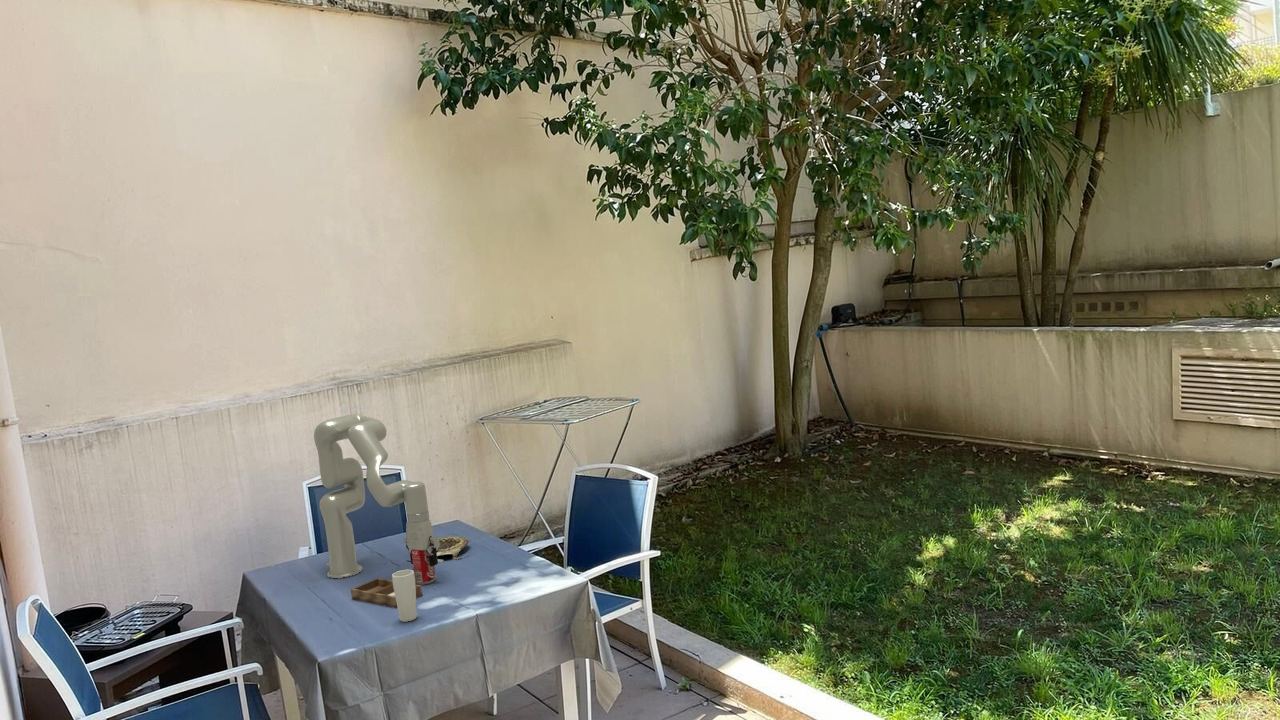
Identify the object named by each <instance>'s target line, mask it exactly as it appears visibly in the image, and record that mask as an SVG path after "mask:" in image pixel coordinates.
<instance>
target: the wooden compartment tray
mask: <svg viewBox="0 0 1280 720" xmlns="http://www.w3.org/2000/svg"><path fill="white" fill-rule="evenodd" d="M415 585H416V599H418V598H420V597H422V596H423V589H422V587H423V586H422V585H419V584H417V583H415ZM350 595H351V600H355V601H359V602H363V603H369V604H375V605H378V604H379V605H378V606H383V605H385V606H384V607H388V606H389V608H393V607H395V609H397V608H398V607H397V602H396V598H395V593H394V588H393V581H392V579H386V578H380V577H377V578H375V579H372V580H370V581H368V582H365V583H362V584H360V585H358V586H355V587H353V588H350ZM396 607H397V608H396Z"/></svg>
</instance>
